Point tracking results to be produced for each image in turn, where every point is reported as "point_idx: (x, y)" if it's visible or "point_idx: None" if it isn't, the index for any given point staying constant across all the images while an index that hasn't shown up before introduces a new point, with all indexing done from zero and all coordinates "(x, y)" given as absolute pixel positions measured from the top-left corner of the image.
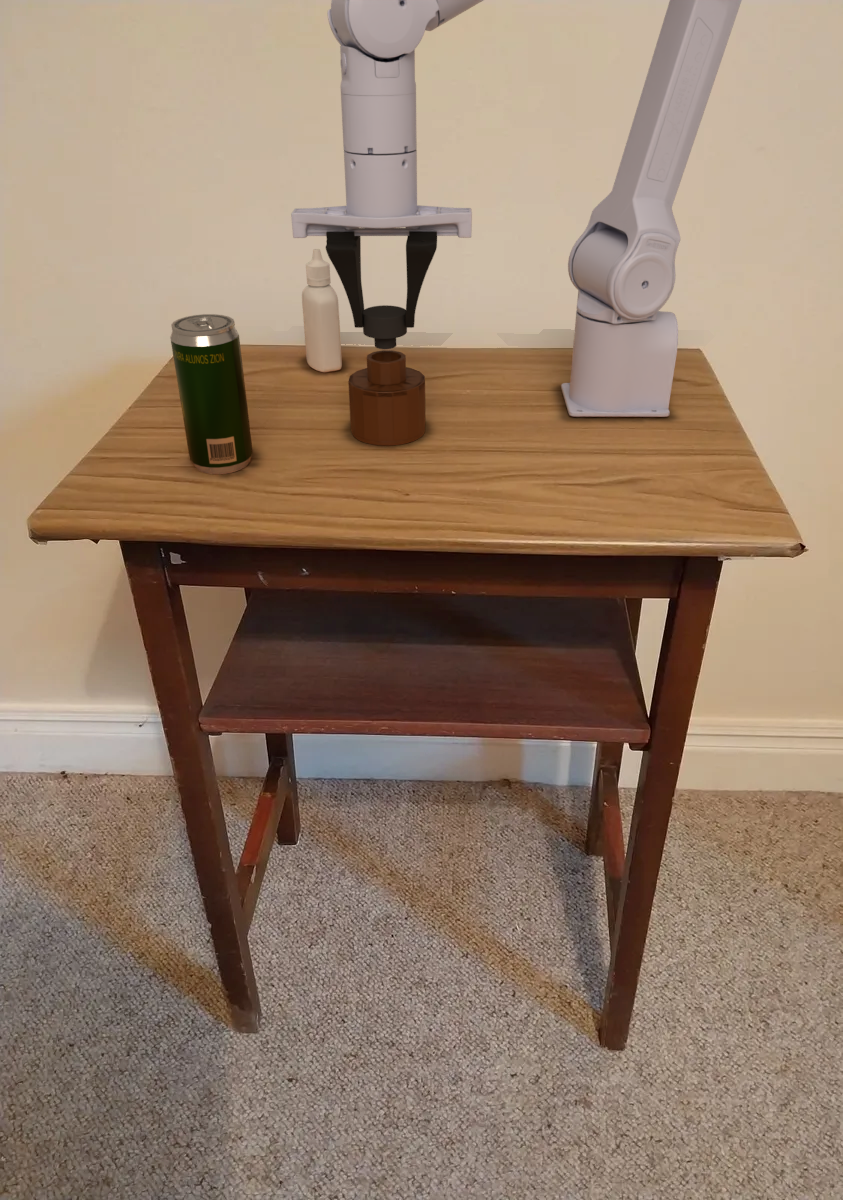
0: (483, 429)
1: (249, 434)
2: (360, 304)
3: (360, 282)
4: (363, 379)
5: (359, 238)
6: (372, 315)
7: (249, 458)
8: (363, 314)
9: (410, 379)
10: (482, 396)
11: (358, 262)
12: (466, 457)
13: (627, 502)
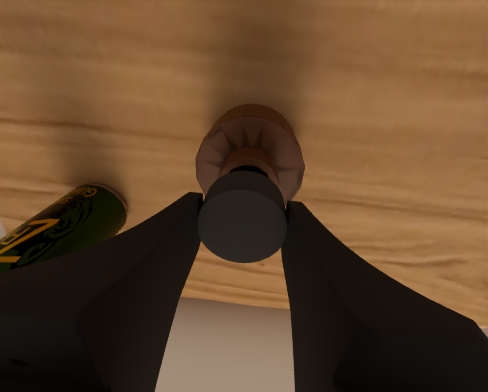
0: (362, 151)
1: (115, 224)
2: (191, 262)
3: (174, 247)
4: (216, 174)
5: (108, 337)
6: (218, 248)
7: (126, 217)
8: (200, 238)
9: (282, 179)
10: (406, 23)
11: (154, 320)
12: (323, 213)
13: (421, 287)
